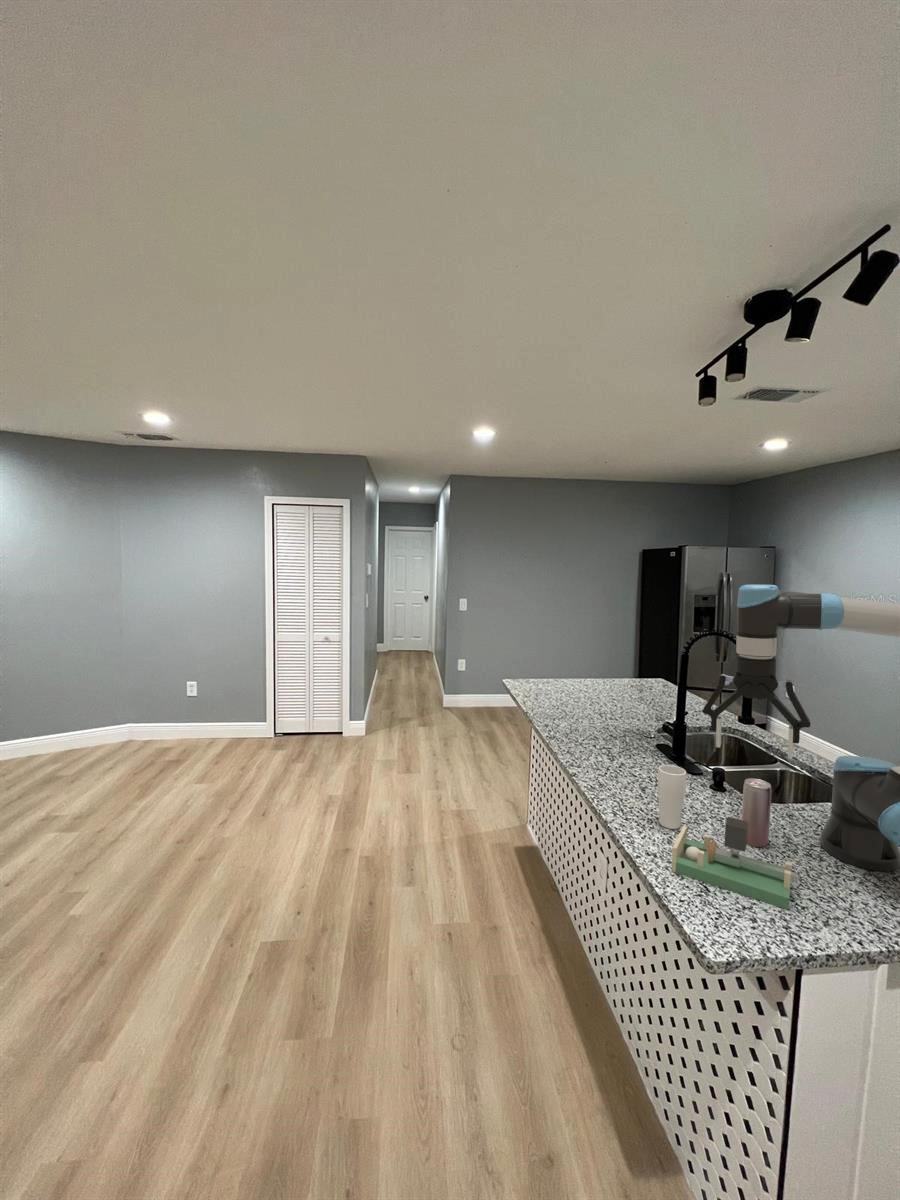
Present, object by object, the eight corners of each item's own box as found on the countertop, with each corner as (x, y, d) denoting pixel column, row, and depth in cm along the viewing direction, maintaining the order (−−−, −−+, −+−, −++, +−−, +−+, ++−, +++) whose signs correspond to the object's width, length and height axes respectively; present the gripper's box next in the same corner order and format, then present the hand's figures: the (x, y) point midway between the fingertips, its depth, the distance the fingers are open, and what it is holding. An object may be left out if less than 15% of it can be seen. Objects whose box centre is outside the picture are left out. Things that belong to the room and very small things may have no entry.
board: (790, 880, 114) (792, 855, 113) (788, 909, 104) (790, 883, 104) (682, 847, 126) (683, 825, 126) (671, 871, 116) (672, 847, 116)
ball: (684, 850, 122) (697, 862, 120) (681, 857, 119) (695, 869, 118) (692, 840, 121) (706, 852, 119) (689, 847, 118) (704, 859, 116)
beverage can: (743, 832, 134) (746, 775, 132) (769, 840, 130) (773, 782, 129) (738, 842, 129) (741, 783, 128) (765, 850, 125) (769, 790, 124)
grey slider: (797, 877, 110) (800, 835, 109) (797, 888, 106) (800, 844, 105) (711, 851, 119) (713, 812, 118) (708, 860, 116) (710, 820, 115)
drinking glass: (667, 833, 133) (669, 776, 132) (650, 820, 139) (652, 765, 138) (689, 829, 135) (692, 773, 133) (671, 817, 141) (674, 763, 140)
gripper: (825, 658, 109) (821, 756, 111) (695, 648, 123) (693, 736, 124) (827, 664, 103) (823, 768, 105) (690, 653, 117) (688, 746, 118)
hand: (753, 751), depth 114 cm, fingers open, 13 cm apart
